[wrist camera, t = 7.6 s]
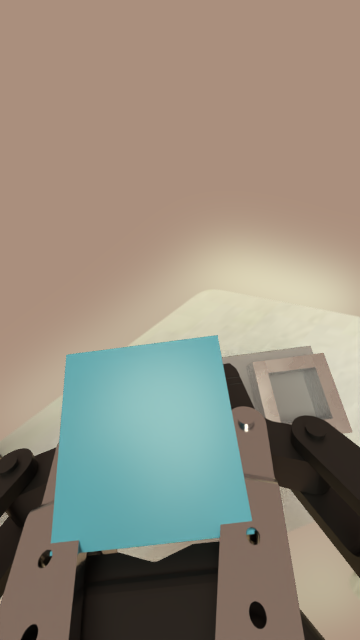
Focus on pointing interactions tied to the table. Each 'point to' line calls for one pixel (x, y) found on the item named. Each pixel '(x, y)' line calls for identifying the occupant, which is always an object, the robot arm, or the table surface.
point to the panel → (279, 382)
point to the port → (316, 382)
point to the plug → (147, 448)
